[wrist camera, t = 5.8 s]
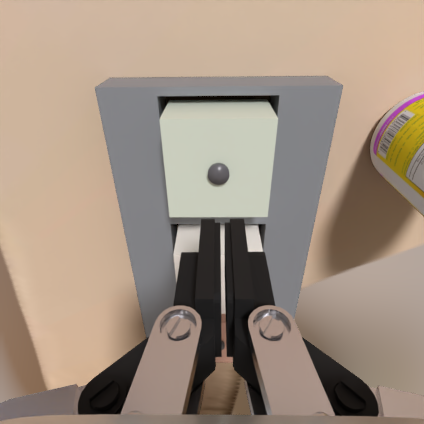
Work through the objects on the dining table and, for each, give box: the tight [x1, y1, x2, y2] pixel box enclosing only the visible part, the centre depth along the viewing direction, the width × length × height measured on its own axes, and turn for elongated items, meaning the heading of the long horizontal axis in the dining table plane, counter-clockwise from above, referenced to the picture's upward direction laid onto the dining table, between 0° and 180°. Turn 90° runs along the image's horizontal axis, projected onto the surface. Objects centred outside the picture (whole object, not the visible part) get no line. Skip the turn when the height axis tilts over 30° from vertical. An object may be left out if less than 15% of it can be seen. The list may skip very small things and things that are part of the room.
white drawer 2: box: [173, 224, 263, 314], centre depth 24 cm, size 6×6×4 cm
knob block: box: [159, 99, 278, 217], centre depth 19 cm, size 6×6×4 cm
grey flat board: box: [95, 76, 343, 339], centre depth 26 cm, size 14×26×3 cm, turn 1°
